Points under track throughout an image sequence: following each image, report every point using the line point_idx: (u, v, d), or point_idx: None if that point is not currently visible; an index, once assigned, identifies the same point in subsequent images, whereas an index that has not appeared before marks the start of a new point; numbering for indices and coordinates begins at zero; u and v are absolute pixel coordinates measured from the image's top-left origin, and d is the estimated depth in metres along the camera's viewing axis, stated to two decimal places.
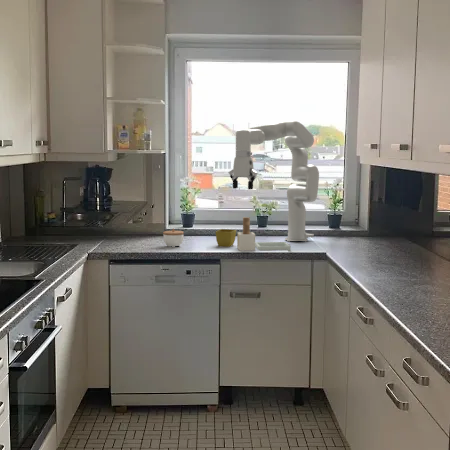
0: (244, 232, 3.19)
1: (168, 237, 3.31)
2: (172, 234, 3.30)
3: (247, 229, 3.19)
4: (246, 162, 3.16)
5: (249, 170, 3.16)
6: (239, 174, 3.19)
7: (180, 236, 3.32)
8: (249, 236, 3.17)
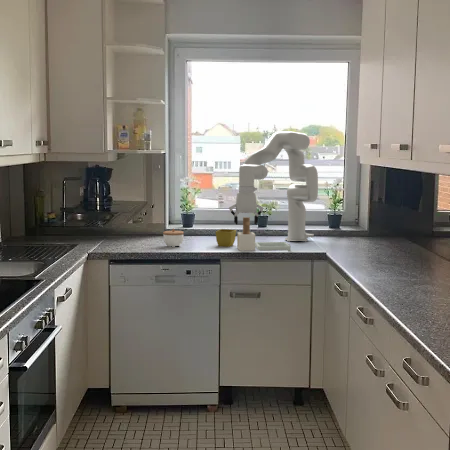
0: (244, 232, 3.19)
1: (168, 237, 3.31)
2: (172, 234, 3.30)
3: (247, 229, 3.19)
4: (254, 197, 3.17)
5: (256, 205, 3.18)
6: (245, 210, 3.17)
7: (180, 236, 3.32)
8: (249, 236, 3.17)
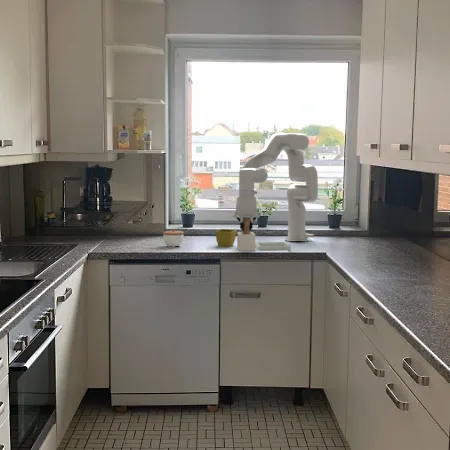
0: (244, 232, 3.19)
1: (168, 237, 3.31)
2: (172, 234, 3.30)
3: (247, 229, 3.19)
4: (254, 201, 3.17)
5: None
6: (246, 213, 3.17)
7: (180, 236, 3.32)
8: (249, 236, 3.17)
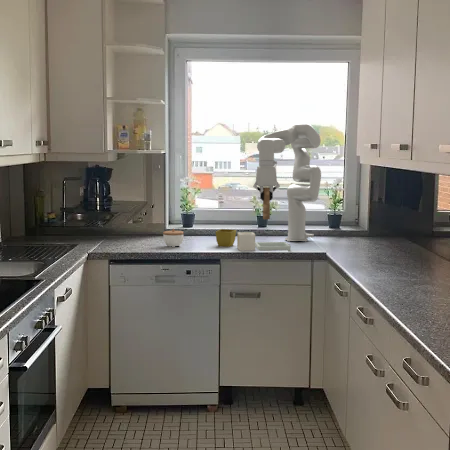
0: (264, 202, 3.21)
1: (168, 237, 3.31)
2: (172, 234, 3.30)
3: (267, 199, 3.21)
4: (274, 171, 3.19)
5: None
6: (266, 183, 3.19)
7: (180, 236, 3.32)
8: (249, 236, 3.17)
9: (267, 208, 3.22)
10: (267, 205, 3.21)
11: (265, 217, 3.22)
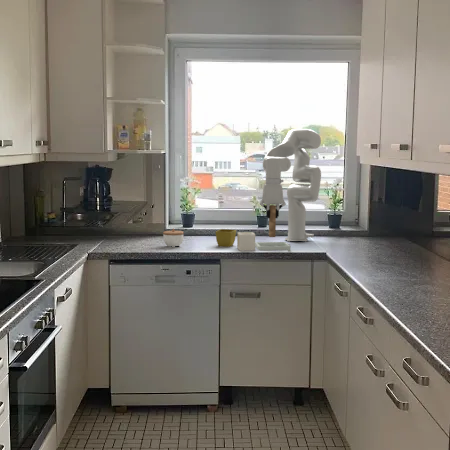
0: (270, 220, 3.23)
1: (168, 237, 3.31)
2: (172, 234, 3.30)
3: (273, 217, 3.23)
4: (281, 189, 3.21)
5: (282, 200, 3.23)
6: (272, 201, 3.21)
7: (180, 236, 3.32)
8: (249, 236, 3.17)
9: (273, 226, 3.23)
10: (273, 223, 3.23)
11: (271, 235, 3.24)
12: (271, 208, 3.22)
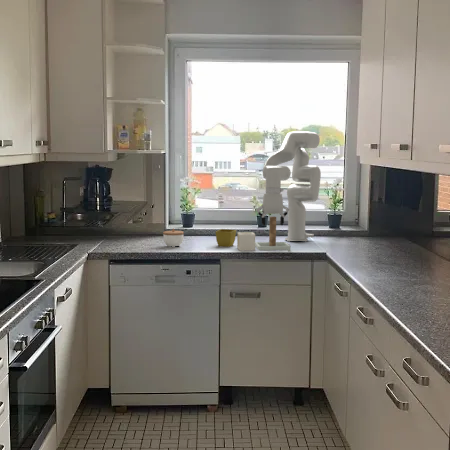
0: (271, 231, 3.24)
1: (168, 237, 3.31)
2: (172, 234, 3.30)
3: (274, 228, 3.24)
4: (281, 198, 3.22)
5: (283, 206, 3.23)
6: (272, 211, 3.22)
7: (180, 236, 3.32)
8: (249, 236, 3.17)
9: (273, 237, 3.24)
10: (273, 234, 3.24)
11: None
12: (271, 220, 3.24)
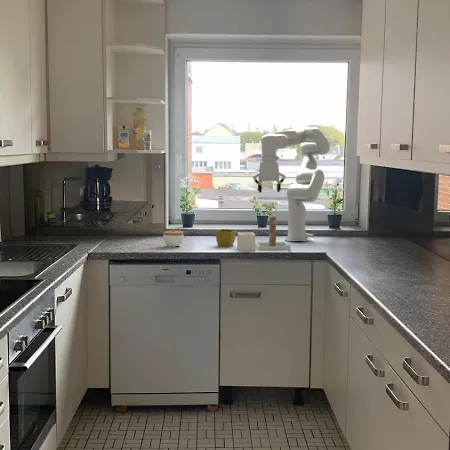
0: (270, 231, 3.24)
1: (168, 237, 3.31)
2: (172, 234, 3.30)
3: (273, 228, 3.24)
4: (277, 166, 3.29)
5: (279, 174, 3.31)
6: (269, 178, 3.30)
7: (180, 236, 3.32)
8: (249, 236, 3.17)
9: (273, 237, 3.24)
10: (273, 234, 3.24)
11: None
12: (271, 220, 3.23)
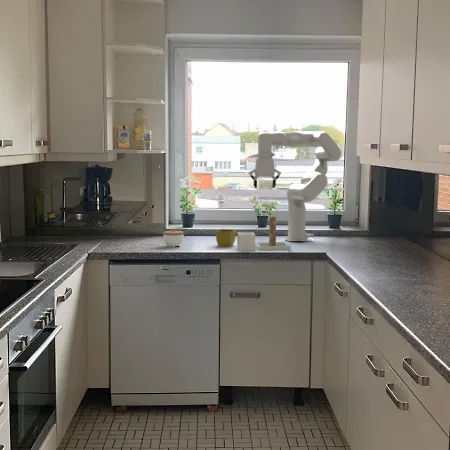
0: (270, 231, 3.24)
1: (168, 237, 3.31)
2: (172, 234, 3.30)
3: (273, 228, 3.24)
4: (272, 163, 3.39)
5: (274, 170, 3.40)
6: (264, 174, 3.39)
7: (180, 236, 3.32)
8: (249, 236, 3.17)
9: (273, 237, 3.24)
10: (273, 234, 3.24)
11: None
12: (271, 220, 3.23)
